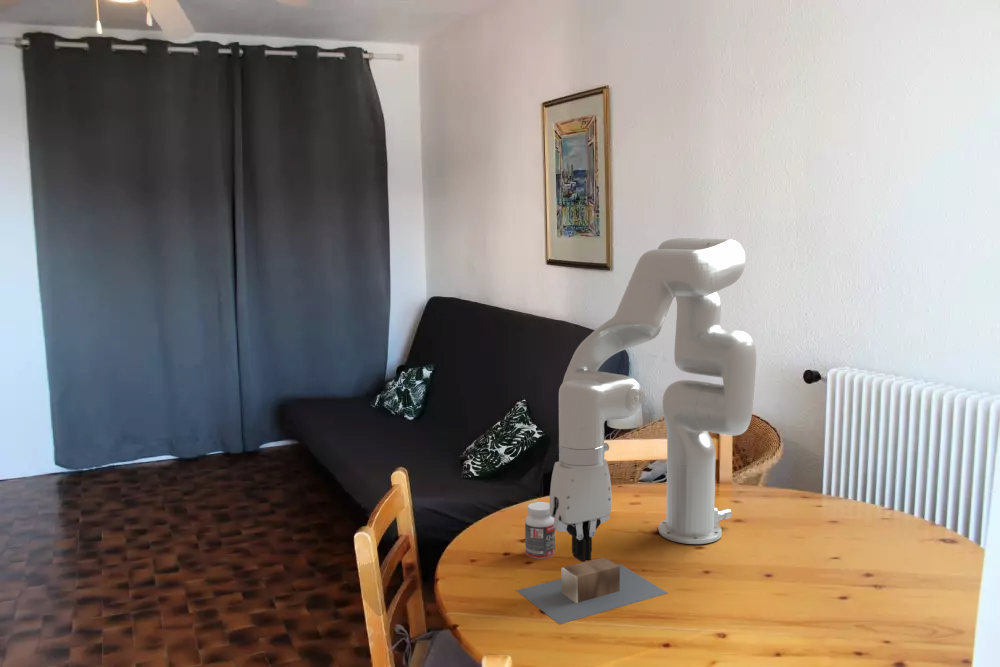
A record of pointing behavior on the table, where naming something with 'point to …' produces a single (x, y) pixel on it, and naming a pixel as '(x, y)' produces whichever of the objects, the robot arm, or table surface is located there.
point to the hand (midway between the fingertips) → (581, 558)
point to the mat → (567, 610)
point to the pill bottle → (539, 531)
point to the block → (590, 579)
